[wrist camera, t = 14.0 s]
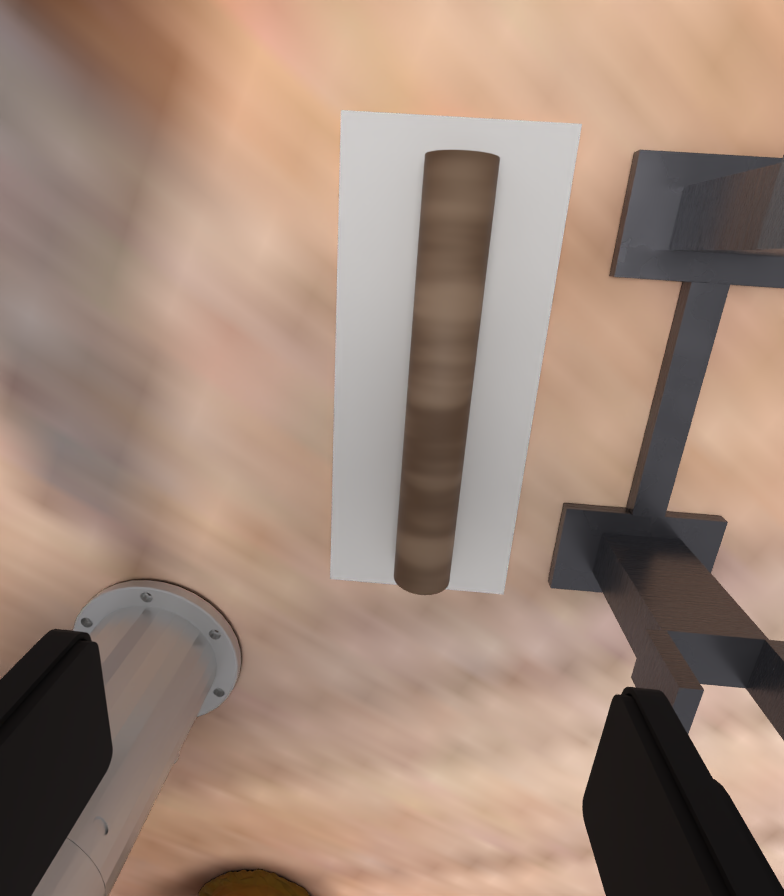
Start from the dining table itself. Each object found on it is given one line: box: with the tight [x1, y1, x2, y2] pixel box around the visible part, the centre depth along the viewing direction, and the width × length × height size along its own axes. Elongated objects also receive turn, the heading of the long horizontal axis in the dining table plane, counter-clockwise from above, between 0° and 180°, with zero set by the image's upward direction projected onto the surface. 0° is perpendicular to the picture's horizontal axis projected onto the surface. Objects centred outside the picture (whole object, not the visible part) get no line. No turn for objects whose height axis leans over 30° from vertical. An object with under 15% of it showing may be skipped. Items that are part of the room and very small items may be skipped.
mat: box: [330, 110, 582, 594], centre depth 31 cm, size 28×12×1 cm, turn 176°
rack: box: [548, 150, 784, 740], centre depth 25 cm, size 26×10×14 cm, turn 176°
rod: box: [394, 150, 500, 595], centre depth 29 cm, size 24×4×4 cm, turn 176°
